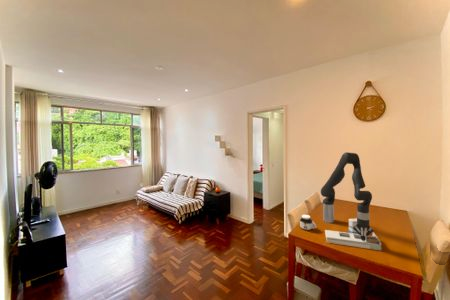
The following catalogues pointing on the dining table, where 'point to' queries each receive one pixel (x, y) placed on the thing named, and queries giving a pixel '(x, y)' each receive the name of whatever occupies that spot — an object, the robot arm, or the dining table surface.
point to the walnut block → (372, 239)
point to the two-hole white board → (350, 240)
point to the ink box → (352, 223)
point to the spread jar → (307, 223)
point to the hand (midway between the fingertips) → (363, 240)
